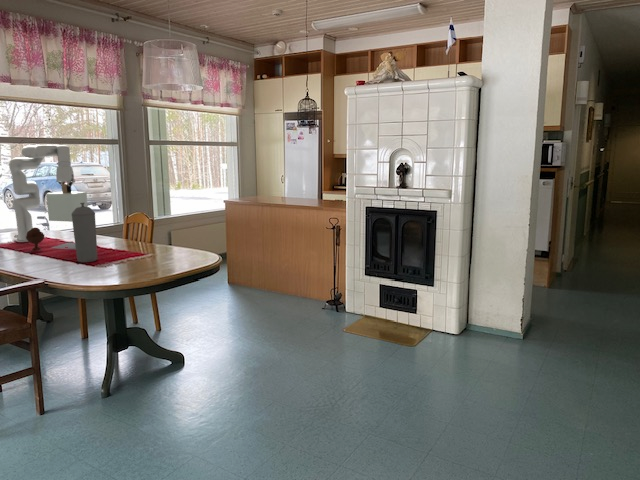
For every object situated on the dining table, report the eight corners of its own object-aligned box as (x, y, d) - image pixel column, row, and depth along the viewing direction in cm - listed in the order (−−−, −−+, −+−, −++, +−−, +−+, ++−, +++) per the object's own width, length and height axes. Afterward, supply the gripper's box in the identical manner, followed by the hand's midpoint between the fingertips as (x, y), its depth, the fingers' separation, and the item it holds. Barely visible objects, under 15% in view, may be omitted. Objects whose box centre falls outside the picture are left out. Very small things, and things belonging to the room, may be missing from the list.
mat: (49, 248, 322) (49, 248, 321) (68, 242, 341) (68, 242, 341) (76, 249, 319) (76, 249, 319) (94, 243, 338) (94, 243, 338)
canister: (75, 264, 280) (70, 204, 273) (75, 259, 291) (70, 202, 284) (99, 261, 286) (94, 203, 279) (98, 257, 297) (93, 201, 290)
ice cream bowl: (49, 248, 323) (47, 226, 321) (38, 251, 312) (36, 228, 310) (34, 247, 324) (32, 225, 322) (23, 251, 314) (20, 228, 311)
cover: (48, 220, 319) (45, 184, 315) (65, 216, 336) (62, 182, 331) (72, 221, 317) (69, 185, 312) (88, 217, 334) (85, 183, 329)
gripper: (49, 164, 317) (51, 192, 320) (72, 164, 315) (74, 192, 318) (56, 163, 324) (59, 191, 328) (79, 164, 322) (81, 191, 326)
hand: (66, 191), depth 323 cm, fingers closed on cover, 3 cm apart
